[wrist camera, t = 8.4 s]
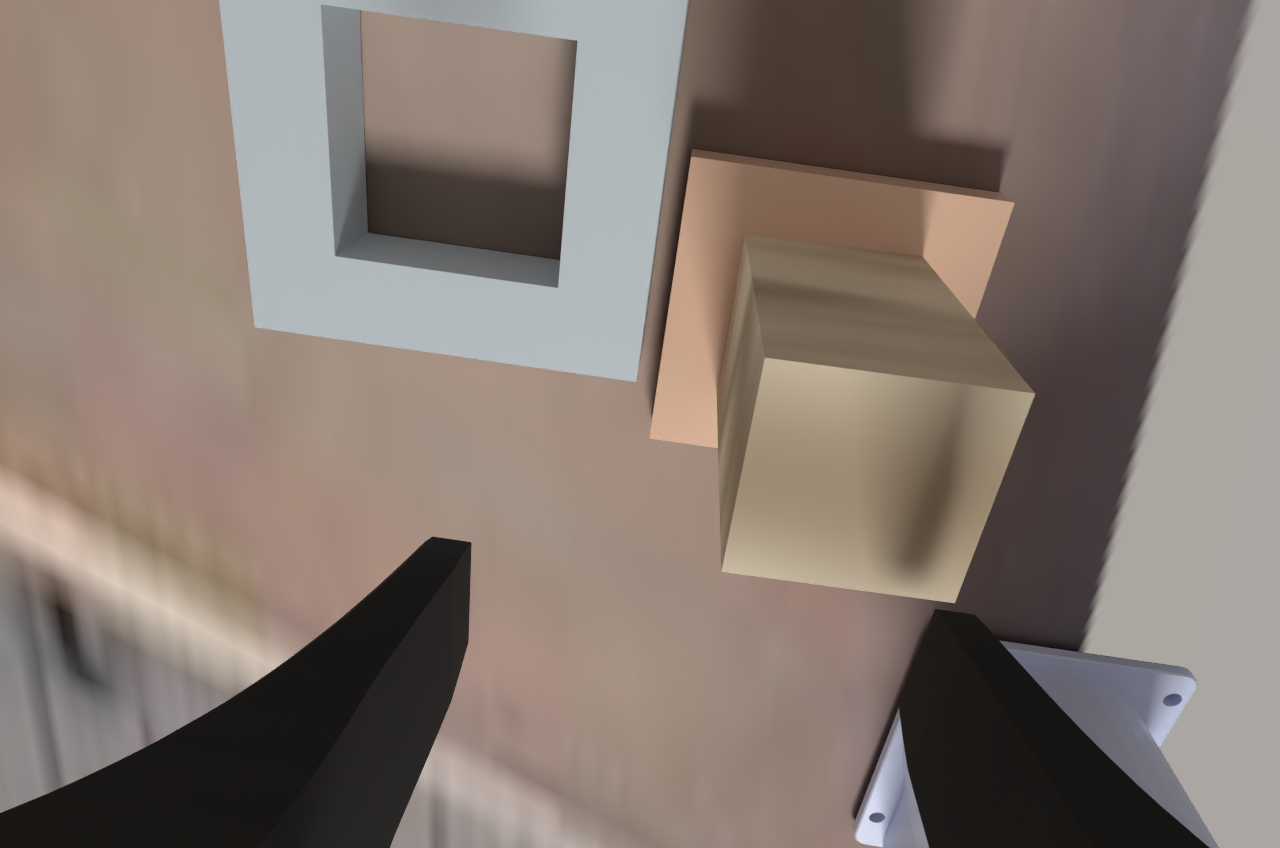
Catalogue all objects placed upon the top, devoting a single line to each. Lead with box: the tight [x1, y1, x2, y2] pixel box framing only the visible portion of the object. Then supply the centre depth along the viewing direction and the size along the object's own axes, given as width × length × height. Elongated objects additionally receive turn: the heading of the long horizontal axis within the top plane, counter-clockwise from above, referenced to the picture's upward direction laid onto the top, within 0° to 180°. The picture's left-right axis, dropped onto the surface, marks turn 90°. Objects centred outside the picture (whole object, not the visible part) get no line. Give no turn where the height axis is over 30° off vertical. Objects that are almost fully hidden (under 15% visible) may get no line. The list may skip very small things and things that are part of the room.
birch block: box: [717, 233, 1035, 603], centre depth 16 cm, size 4×4×7 cm
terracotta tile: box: [649, 149, 1015, 448], centre depth 20 cm, size 7×7×1 cm
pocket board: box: [219, 0, 690, 382], centre depth 18 cm, size 9×9×2 cm
